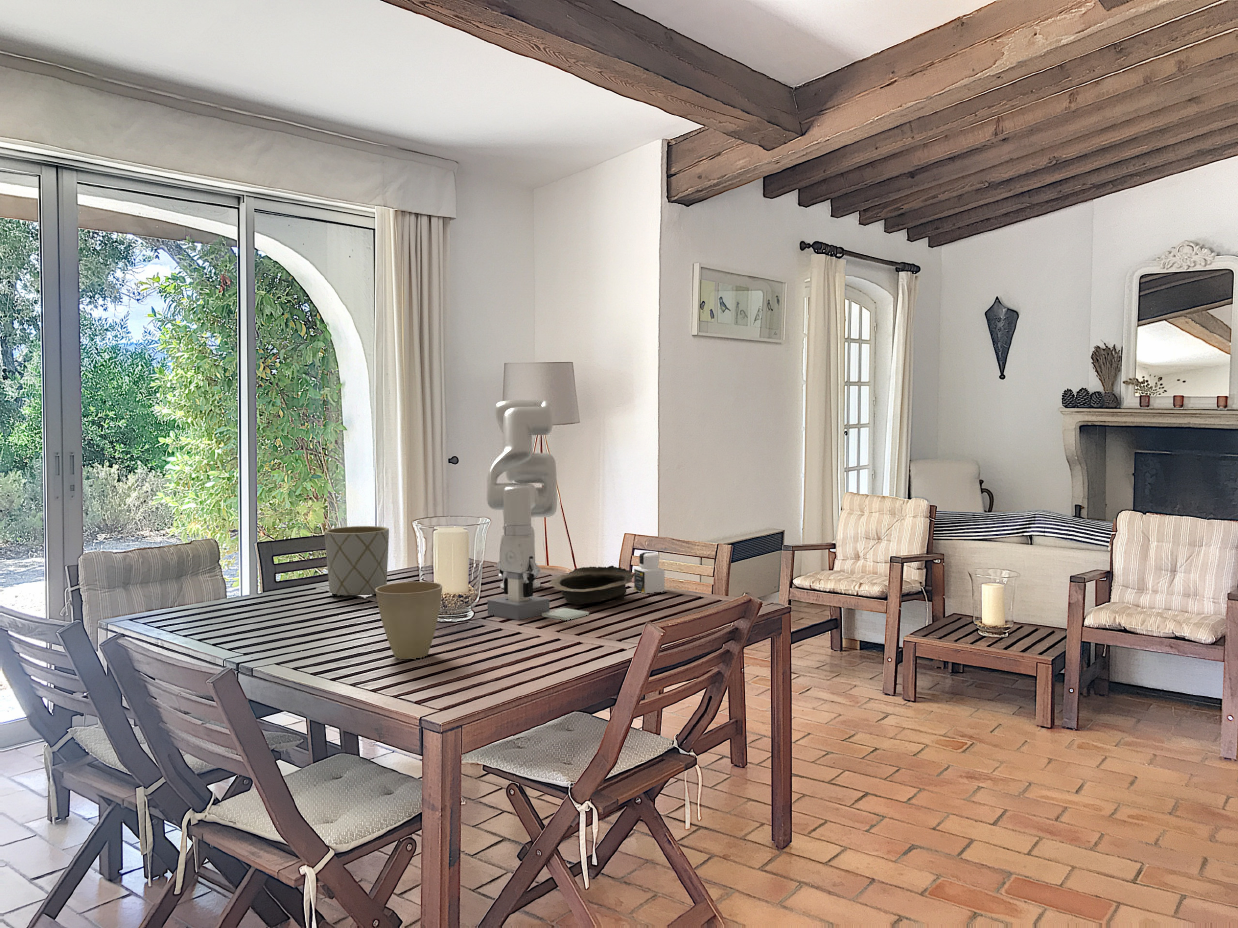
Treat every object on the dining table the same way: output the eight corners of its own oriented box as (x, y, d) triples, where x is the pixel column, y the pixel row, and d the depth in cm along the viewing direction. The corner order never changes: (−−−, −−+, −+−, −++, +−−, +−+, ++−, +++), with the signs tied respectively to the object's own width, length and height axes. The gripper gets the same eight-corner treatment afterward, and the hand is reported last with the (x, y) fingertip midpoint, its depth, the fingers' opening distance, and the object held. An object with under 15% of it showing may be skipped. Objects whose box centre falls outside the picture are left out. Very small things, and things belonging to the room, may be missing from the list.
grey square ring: (487, 614, 266) (487, 599, 266) (519, 607, 275) (518, 593, 275) (518, 620, 258) (518, 605, 258) (549, 612, 267) (549, 598, 267)
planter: (313, 598, 291) (311, 532, 290) (348, 587, 309) (347, 525, 308) (369, 601, 285) (367, 534, 284) (401, 589, 304) (400, 526, 303)
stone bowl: (637, 593, 294) (637, 563, 293) (630, 616, 270) (630, 584, 268) (557, 591, 297) (557, 561, 295) (543, 614, 272) (542, 582, 271)
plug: (506, 613, 266) (506, 572, 266) (518, 611, 270) (518, 569, 269) (518, 616, 263) (518, 573, 263) (530, 613, 267) (530, 571, 266)
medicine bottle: (633, 590, 300) (633, 551, 299) (654, 588, 303) (654, 550, 302) (644, 594, 294) (643, 554, 293) (665, 592, 296) (664, 553, 296)
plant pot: (415, 644, 231) (414, 578, 230) (457, 654, 222) (455, 585, 221) (363, 657, 220) (361, 588, 219) (404, 668, 210) (403, 595, 209)
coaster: (542, 616, 263) (542, 613, 263) (564, 610, 270) (564, 607, 270) (566, 620, 257) (566, 617, 257) (588, 614, 264) (588, 611, 264)
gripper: (485, 529, 268) (486, 593, 269) (530, 534, 257) (531, 601, 258) (505, 527, 274) (506, 589, 275) (549, 531, 263) (550, 596, 264)
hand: (518, 594), depth 266 cm, fingers open, 6 cm apart
